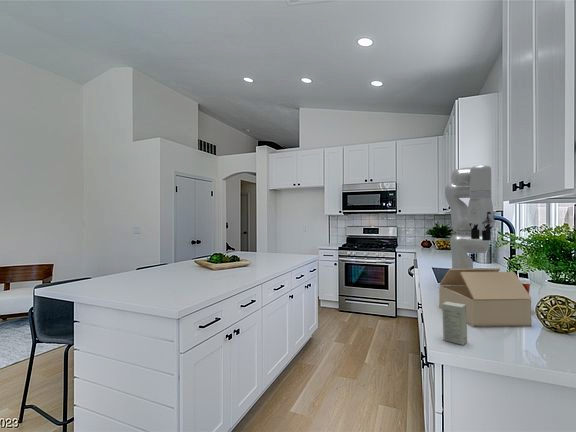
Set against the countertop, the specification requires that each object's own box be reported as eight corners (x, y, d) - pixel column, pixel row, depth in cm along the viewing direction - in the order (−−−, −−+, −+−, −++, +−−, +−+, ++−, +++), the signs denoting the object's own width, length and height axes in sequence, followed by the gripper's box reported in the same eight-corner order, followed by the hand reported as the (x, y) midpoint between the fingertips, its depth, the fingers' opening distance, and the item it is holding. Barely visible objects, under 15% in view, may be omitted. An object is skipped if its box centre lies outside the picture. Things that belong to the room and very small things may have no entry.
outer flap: (460, 272, 121) (460, 272, 120) (513, 272, 121) (514, 271, 121) (473, 300, 112) (474, 299, 112) (530, 299, 113) (531, 298, 112)
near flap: (500, 269, 128) (499, 268, 129) (450, 269, 128) (449, 268, 128) (486, 284, 137) (486, 283, 137) (439, 285, 136) (439, 284, 137)
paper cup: (535, 314, 126) (534, 280, 126) (514, 313, 128) (514, 280, 128) (524, 308, 134) (524, 277, 134) (505, 307, 136) (504, 276, 136)
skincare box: (467, 341, 99) (467, 304, 99) (463, 345, 96) (463, 307, 96) (446, 336, 104) (446, 300, 104) (442, 339, 101) (441, 303, 101)
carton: (439, 307, 136) (439, 285, 136) (487, 306, 137) (487, 285, 137) (473, 327, 112) (473, 300, 112) (531, 326, 113) (531, 300, 113)
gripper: (459, 197, 133) (459, 238, 133) (485, 194, 116) (485, 241, 116) (475, 197, 133) (476, 238, 133) (504, 194, 116) (505, 241, 116)
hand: (480, 239), depth 124 cm, fingers open, 6 cm apart
